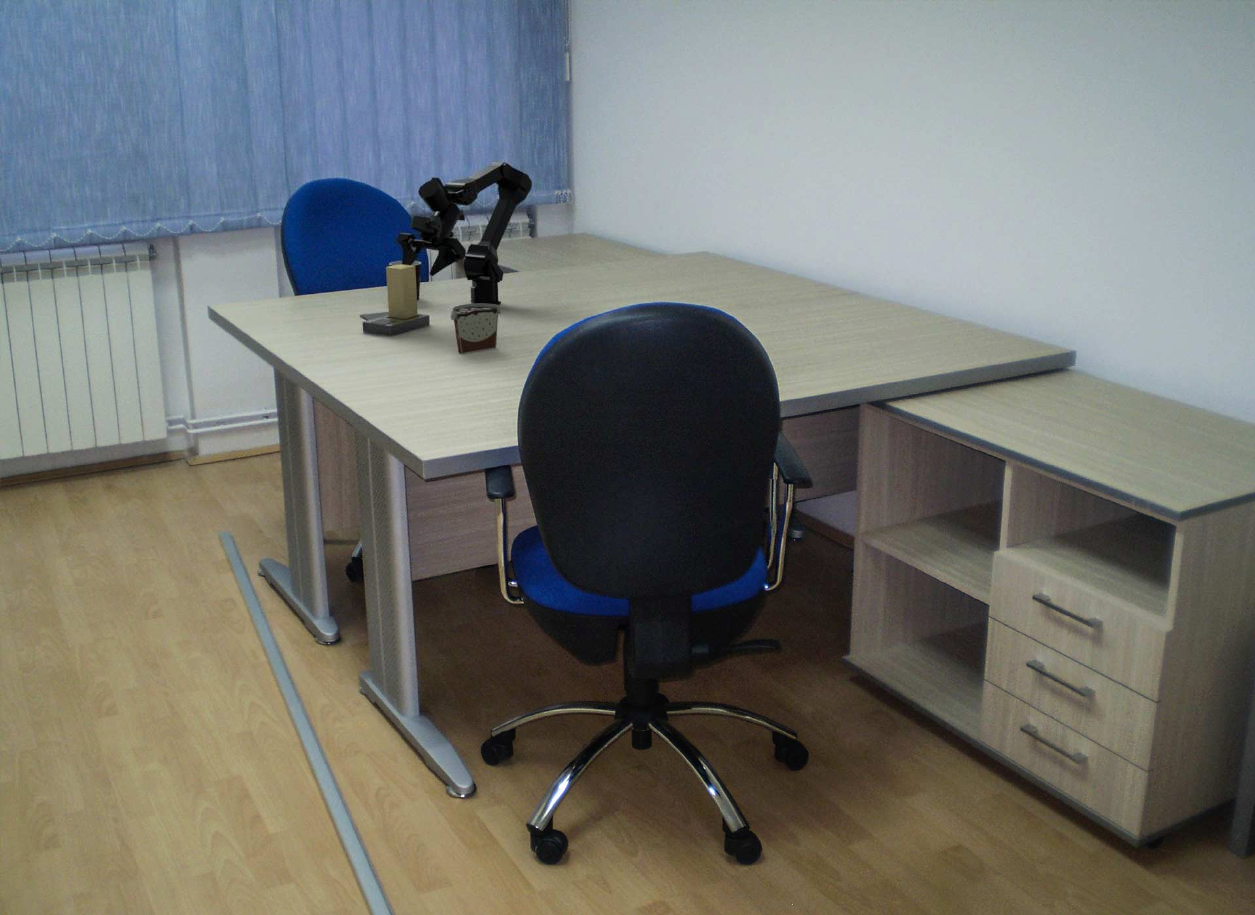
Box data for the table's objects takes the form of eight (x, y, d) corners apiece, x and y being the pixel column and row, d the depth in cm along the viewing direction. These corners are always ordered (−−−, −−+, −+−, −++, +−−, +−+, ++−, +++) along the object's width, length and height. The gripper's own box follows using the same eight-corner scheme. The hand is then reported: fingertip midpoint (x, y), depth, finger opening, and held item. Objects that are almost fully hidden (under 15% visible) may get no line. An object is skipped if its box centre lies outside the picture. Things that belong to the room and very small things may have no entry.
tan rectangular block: (402, 323, 320) (399, 264, 315) (418, 325, 317) (415, 266, 312) (389, 327, 316) (386, 267, 311) (405, 329, 313) (401, 269, 308)
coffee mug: (416, 303, 344) (414, 266, 340) (386, 302, 345) (384, 265, 342) (431, 295, 354) (429, 259, 351) (402, 294, 356) (400, 258, 353)
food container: (487, 342, 300) (485, 300, 297) (501, 347, 296) (500, 304, 292) (442, 350, 293) (440, 307, 290) (456, 355, 288) (454, 311, 285)
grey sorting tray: (402, 321, 322) (401, 311, 321) (429, 325, 318) (429, 314, 317) (363, 331, 311) (362, 321, 310) (391, 336, 306) (390, 325, 305)
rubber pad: (397, 312, 332) (396, 310, 332) (409, 319, 324) (409, 318, 324) (359, 316, 328) (359, 314, 328) (371, 323, 319) (371, 322, 319)
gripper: (398, 200, 321) (371, 250, 315) (457, 205, 312) (429, 256, 306) (420, 228, 330) (394, 277, 324) (477, 234, 321) (451, 284, 315)
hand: (416, 273), depth 317 cm, fingers open, 9 cm apart
